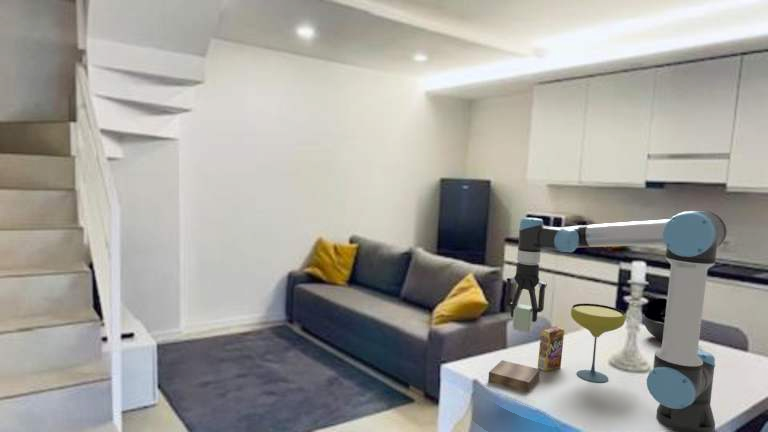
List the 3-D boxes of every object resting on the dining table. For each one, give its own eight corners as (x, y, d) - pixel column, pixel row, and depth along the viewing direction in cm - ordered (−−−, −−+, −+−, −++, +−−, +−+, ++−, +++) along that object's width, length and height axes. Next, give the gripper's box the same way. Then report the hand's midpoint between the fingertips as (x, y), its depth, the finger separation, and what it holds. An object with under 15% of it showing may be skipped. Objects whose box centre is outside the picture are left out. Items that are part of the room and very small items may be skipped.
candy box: (546, 372, 186) (549, 332, 185) (537, 368, 190) (540, 328, 188) (561, 367, 191) (564, 328, 190) (552, 363, 195) (555, 325, 193)
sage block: (532, 328, 176) (533, 306, 175) (527, 332, 171) (529, 309, 171) (518, 325, 178) (519, 303, 177) (513, 329, 174) (515, 306, 173)
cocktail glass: (629, 387, 176) (635, 318, 173) (579, 386, 175) (584, 316, 172) (604, 367, 194) (609, 304, 191) (558, 366, 193) (563, 302, 190)
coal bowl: (652, 330, 244) (655, 292, 242) (697, 342, 229) (702, 302, 227) (633, 338, 231) (637, 298, 229) (680, 351, 216) (685, 308, 214)
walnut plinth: (539, 380, 180) (539, 369, 180) (528, 393, 168) (529, 382, 168) (501, 370, 187) (501, 360, 187) (488, 383, 175) (488, 372, 175)
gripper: (557, 265, 171) (551, 331, 173) (506, 257, 180) (501, 320, 183) (551, 268, 164) (545, 337, 167) (499, 260, 174) (494, 325, 177)
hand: (522, 328), depth 175 cm, fingers closed on sage block, 5 cm apart
